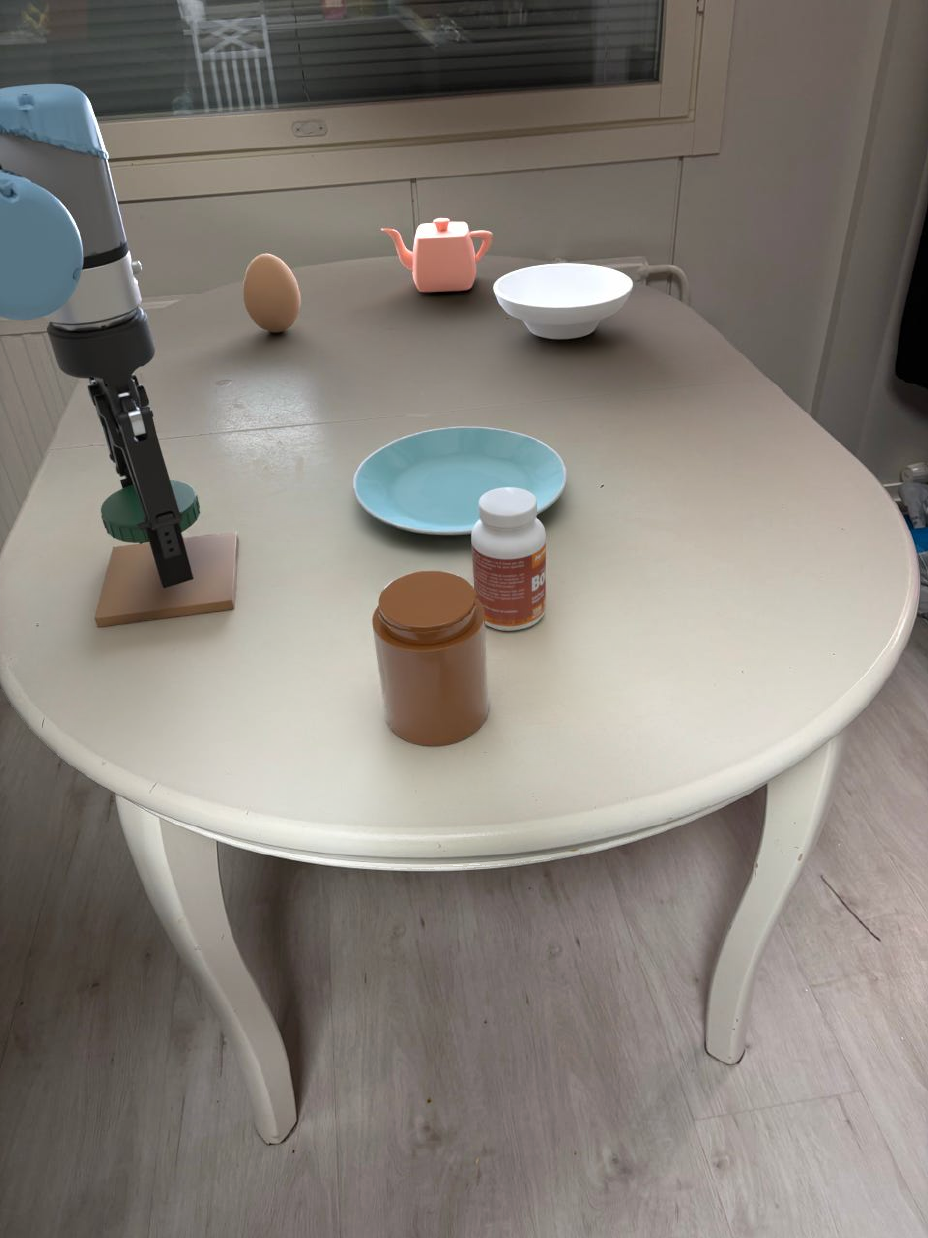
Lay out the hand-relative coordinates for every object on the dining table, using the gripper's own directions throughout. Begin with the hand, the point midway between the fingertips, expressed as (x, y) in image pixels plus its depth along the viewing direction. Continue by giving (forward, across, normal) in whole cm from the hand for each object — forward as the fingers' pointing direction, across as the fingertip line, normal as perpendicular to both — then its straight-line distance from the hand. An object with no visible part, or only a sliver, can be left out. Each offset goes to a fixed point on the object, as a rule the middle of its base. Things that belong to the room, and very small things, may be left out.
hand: (164, 558), depth 86 cm
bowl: (+2, +32, -66) cm, 74 cm away
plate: (+3, -1, -30) cm, 31 cm away
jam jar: (+2, -29, -13) cm, 32 cm away
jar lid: (-6, 0, 0) cm, 6 cm away
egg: (+3, +59, -32) cm, 67 cm away
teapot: (+2, +62, -62) cm, 88 cm away
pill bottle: (+3, -22, -24) cm, 32 cm away
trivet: (+2, 0, 0) cm, 2 cm away
